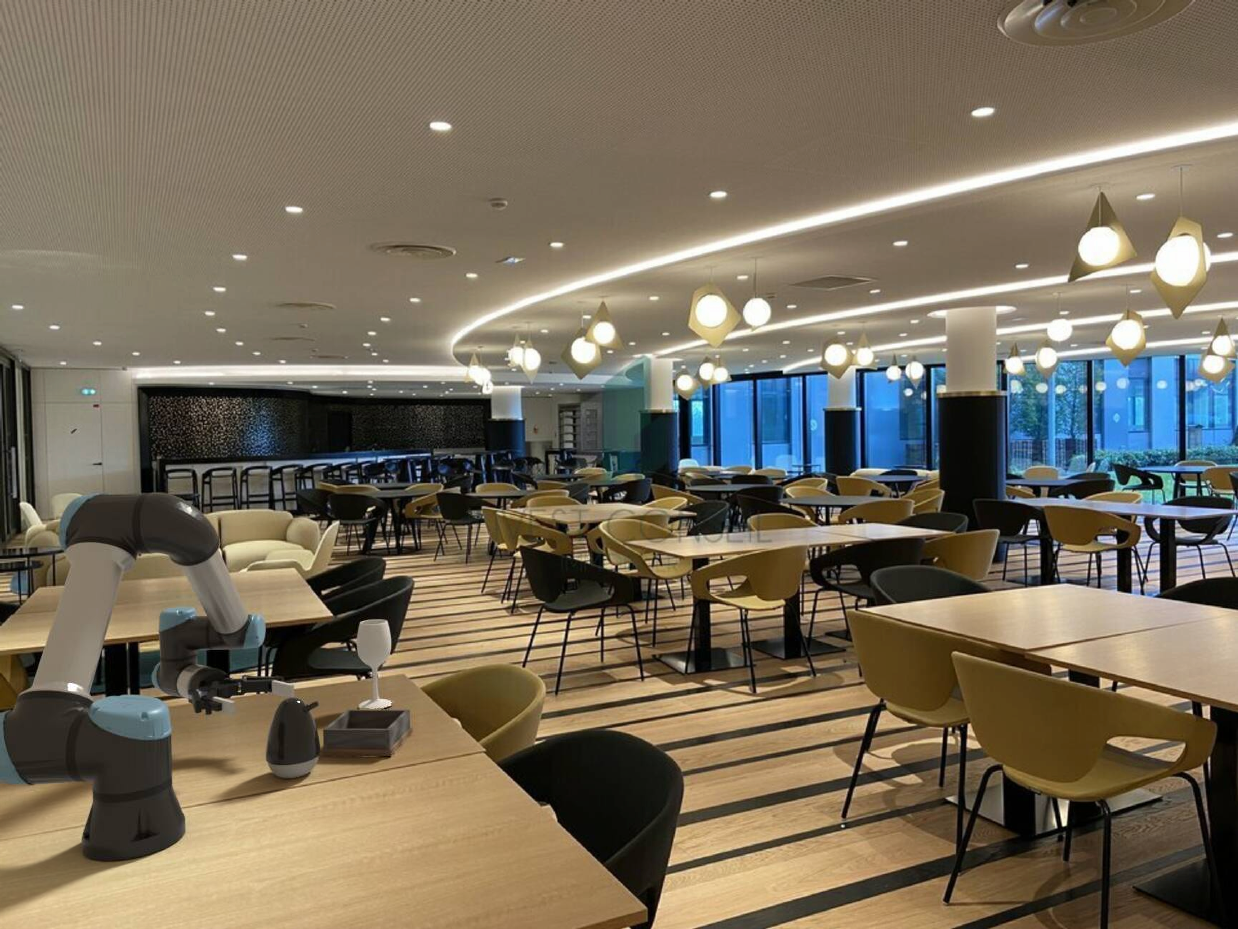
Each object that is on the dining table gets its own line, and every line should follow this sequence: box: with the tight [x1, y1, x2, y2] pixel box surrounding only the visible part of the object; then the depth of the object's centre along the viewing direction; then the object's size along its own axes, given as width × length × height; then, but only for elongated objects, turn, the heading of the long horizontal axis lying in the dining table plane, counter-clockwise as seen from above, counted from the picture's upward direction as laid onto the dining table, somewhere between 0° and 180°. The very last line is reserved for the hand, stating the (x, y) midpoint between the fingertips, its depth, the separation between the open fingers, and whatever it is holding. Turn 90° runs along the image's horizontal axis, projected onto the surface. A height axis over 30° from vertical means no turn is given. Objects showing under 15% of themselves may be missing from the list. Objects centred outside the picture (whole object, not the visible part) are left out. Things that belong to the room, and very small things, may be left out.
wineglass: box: [356, 618, 393, 709], centre depth 222 cm, size 9×9×21 cm
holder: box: [320, 709, 414, 757], centre depth 194 cm, size 15×15×6 cm
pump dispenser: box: [265, 696, 321, 779], centre depth 178 cm, size 10×10×15 cm
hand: (264, 700), depth 184 cm, fingers open, 13 cm apart
